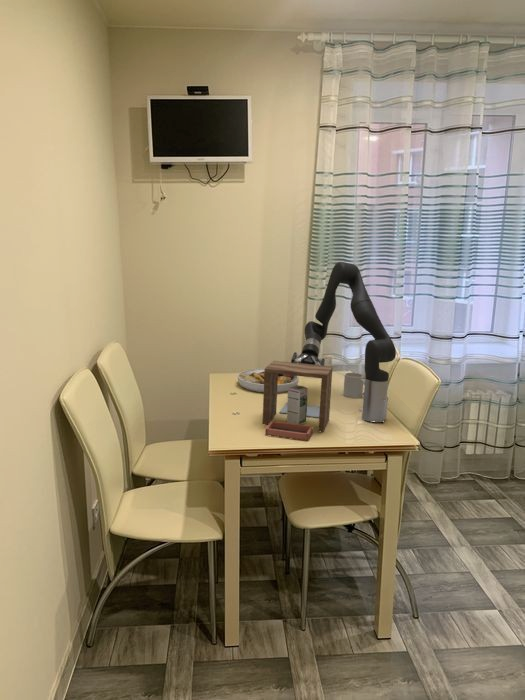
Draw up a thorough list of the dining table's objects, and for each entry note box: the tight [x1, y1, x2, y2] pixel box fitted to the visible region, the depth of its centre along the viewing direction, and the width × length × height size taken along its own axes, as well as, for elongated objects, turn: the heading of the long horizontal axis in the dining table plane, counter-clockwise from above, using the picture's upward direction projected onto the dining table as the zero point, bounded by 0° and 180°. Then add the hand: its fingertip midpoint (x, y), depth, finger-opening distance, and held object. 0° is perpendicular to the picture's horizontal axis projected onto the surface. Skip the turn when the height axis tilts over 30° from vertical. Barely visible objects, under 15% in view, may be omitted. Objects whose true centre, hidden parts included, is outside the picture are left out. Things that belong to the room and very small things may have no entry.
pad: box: [278, 402, 320, 419], centre depth 220 cm, size 14×18×1 cm
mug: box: [343, 372, 365, 399], centre depth 244 cm, size 11×10×10 cm
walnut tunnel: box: [262, 360, 334, 433], centre depth 204 cm, size 14×24×22 cm, turn 74°
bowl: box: [237, 368, 300, 394], centre depth 256 cm, size 30×30×8 cm
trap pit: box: [264, 420, 314, 442], centre depth 194 cm, size 9×16×2 cm, turn 74°
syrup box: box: [286, 384, 309, 425], centre depth 205 cm, size 6×6×14 cm
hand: (305, 371), depth 219 cm, fingers open, 8 cm apart
